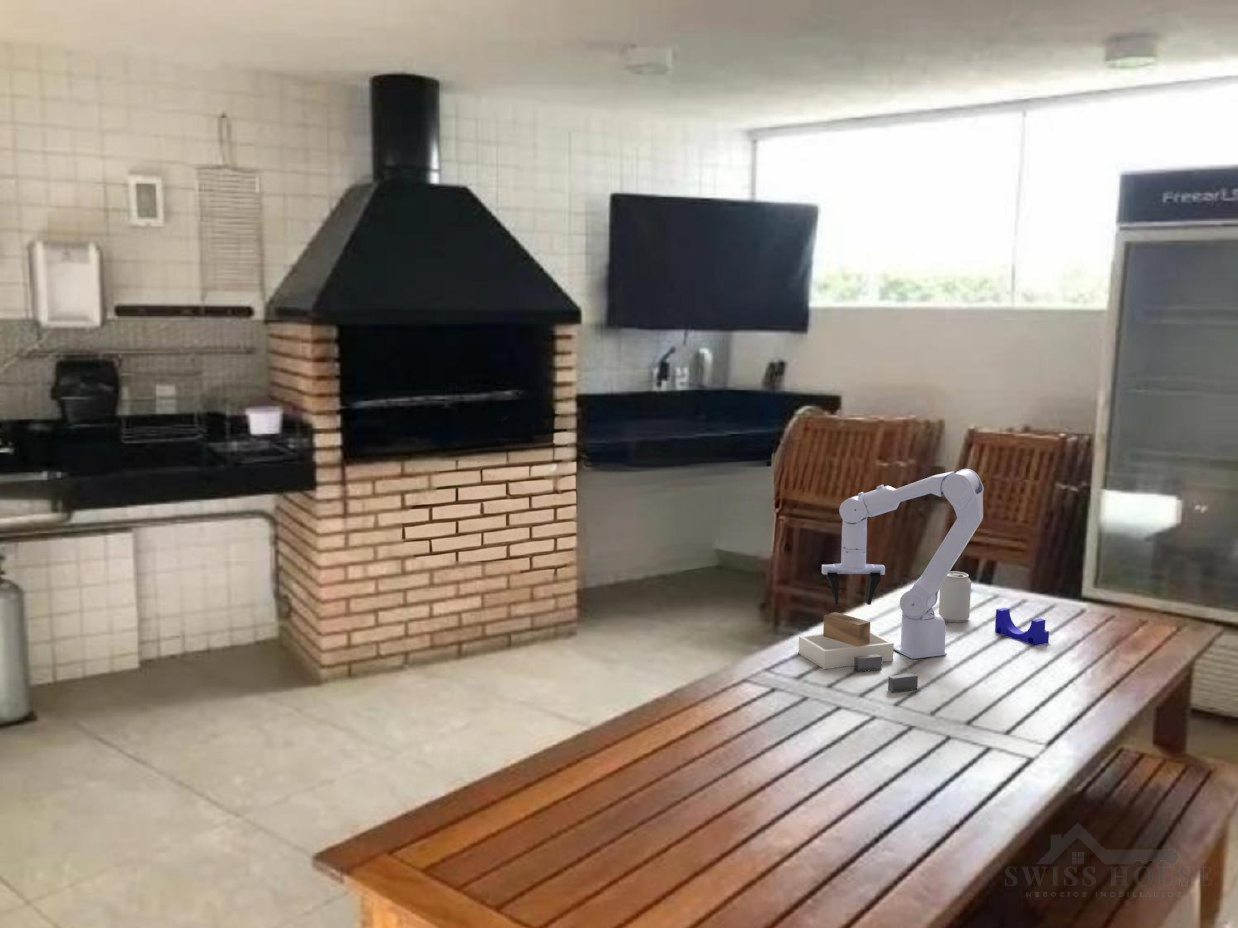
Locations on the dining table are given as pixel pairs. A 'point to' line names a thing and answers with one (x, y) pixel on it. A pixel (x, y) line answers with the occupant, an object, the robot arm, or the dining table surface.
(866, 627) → the wooden block
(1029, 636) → the blue saddle bracket
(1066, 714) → the dining table surface
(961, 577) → the can
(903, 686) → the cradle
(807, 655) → the bin
